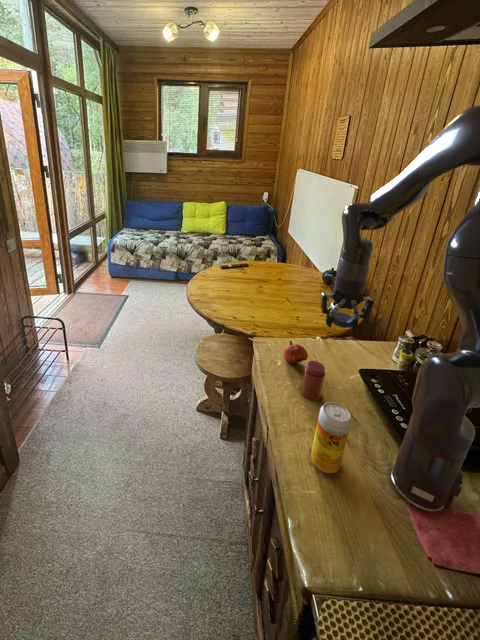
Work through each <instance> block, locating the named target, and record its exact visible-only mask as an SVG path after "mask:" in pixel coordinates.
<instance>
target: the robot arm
mask: <svg viewBox="0 0 480 640" xmlns="http://www.w3.org/2000/svg"><path fill="white" fill-rule="evenodd" d="M463 166H471V167H474V166H475V167H480V104H477V105H473V106H471V107H468V108H466V109H465V110H463V111H461V112H460V113H459V114H458V115H456V116H455V117H454V118H453V119H452V120H451V121H449V122H448V124H446V125H445V126H444V127H443V128H442V129H441V130H440V131H439V132H438V134H436V136H435V137H434V138H432V140H431V141H430V142H429V143H428V144H427V145H426V146H425V147H424V148H423V149H422V150H421V151H420V152H419V153H418V154H417V155H416V157H415V158H414V159H413V160H412V161H411V162H410V163H409V164H408V165H407V166H406V167H405V168H403V170H402V171H401V172H399V173H398V174H397V175H396V176H394V177H393V178H392V179H390V180H389V181H387V182H386V183H385V184H384V185H382V186H381V187H379V188H378V189H377V190H376V191H374V192H373V193H372V195H371V196H370V197H369V201H368V202H351V203H349V204H348V205H347V206H345V208H343V211H342V213H341V226H342V237H343V239H342V240H343V246H342V251H341V256H340V259H339V260H340V261H339V262H338V265H337V266H338V267H337V270H336V274H335V275H336V276H335V280H334V286H333V290H332V291H331V292H325V291H321V292H320V310H321V313H322V314H324V315H326V316H325V320H324V321H325V324H326V326H327V328H332V325H333V323H332V320H333V315H334V314H335V312H339V310H340V309H347V310H351V312H352V315H351V316H352V317H353V319H354V320H353V325H352V326H351V327H349V328H350V330H351V331H355V329H356V330H357V328H358V325H359V321H360V319H367V318H368V317H369V315H370V313H371V311H372V308H373V306H374V305H375V301H374V299H373V298H372V297H371V296H364V292H365V289H366V285H367V280H368V276H369V273H370V263H371V259H372V255H373V250H374V242H373V241H372V240H370V239H368V238H365V237H362V236H361V231H377V230H379V229H383V228H385V227H386V226H388V224H390V222H391V221H392V220H393V219H394V218H395V217H396V216H397V214H399V213H402V212H403V211H405V210H406V209H408V208H410V207H411V206H414V205H415V204H416V203H418V202H419V201H420V200H421V199H422V198H423V197H424V196H425V194H426V193H427V192H428V190H429V187H430V185H431V184H432V183H433V182H434V181H435V180H436V179H437V178H439V177H441V176H443V175H445V174H447V173H449V172H451V171H454V170H456V169H459V168H460V167H463ZM442 282H443V286H444V289H445V291H446V294H447V296H448V298H449V301H450V302H451V304H452V306H453V308H454V310H455V312H456V314H457V316H458V320H459V338H458V339H459V340H458V344H457V348H456V350H455V352H447V353H446V352H445V353H436V354H431V355H429V356H427V357H426V358H425V359H424V360H423V361H422V363H421V364H420V366H419V369H418V373H417V376H416V380H415V384H414V388H413V391H412V397H411V403H412V413H411V415H410V418H409V421H408V424H407V427H406V430H405V433H404V436H403V439H402V442H401V444H400V447H399V451H398V453H397V456H396V460H395V461H394V462H395V463H394V465H393V467H392V469H391V471H390V481H391V484H392V486H393V488H394V489H395V491H396V492H397V494H398V495H399V496H400V497H401V498H402V499H403V500H404V501H405V502H407V504H409V505H410V506H412V507H413V508H415V509H416V510H419V511H421V512H425V513H428V514H438V513H441V512H442V511H443V510H444V509H445V510H449V509H450V508H451V506H452V503H453V501H454V499H455V498H459V495H460V493H461V491H462V486H461V485H463V484H464V481H463V479H464V474H463V472H462V470H461V468H462V466H463V465H464V462H465V460H466V457H467V455H468V452H469V450H470V448H471V445H472V443H473V441H474V439H475V437H476V430H475V426H474V424H473V423H472V421H471V420H470V419H469V418H468V417H467V416H466V413H467V411H468V410H469V409H475V408H480V179H479V181H478V187H477V192H476V195H475V198H474V200H473V202H472V204H471V205H470V207H469V209H468V210H467V211H466V213H465V214H464V215H463V217H462V218H461V219H460V221H459V222H458V223H457V225H456V227H455V228H454V229H453V231H452V232H451V234H450V236H449V238H448V240H447V242H446V244H445V249H444V258H443V267H442ZM330 299H332V302H331V303H330V306H329V307H328V302H329V301H330ZM361 303H363V305H362V307H361V310H360V311H359V308H358V306H359V305H360V304H361Z"/></svg>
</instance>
